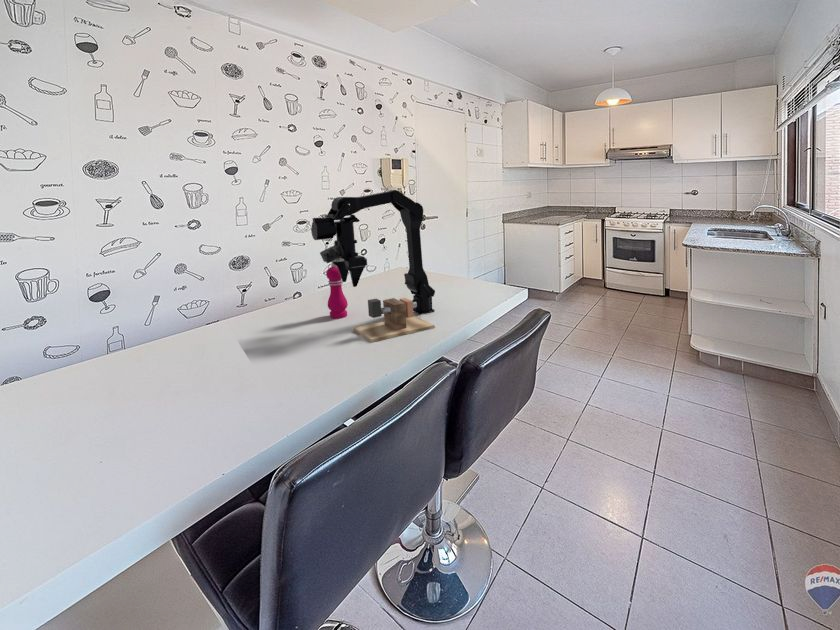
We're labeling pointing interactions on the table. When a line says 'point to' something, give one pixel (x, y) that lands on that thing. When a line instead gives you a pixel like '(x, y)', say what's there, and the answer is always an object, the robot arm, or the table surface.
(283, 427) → the table surface
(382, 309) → the shaft
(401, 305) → the bearing block
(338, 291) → the pepper mill
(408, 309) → the spacer
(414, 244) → the robot arm
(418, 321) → the base plate
